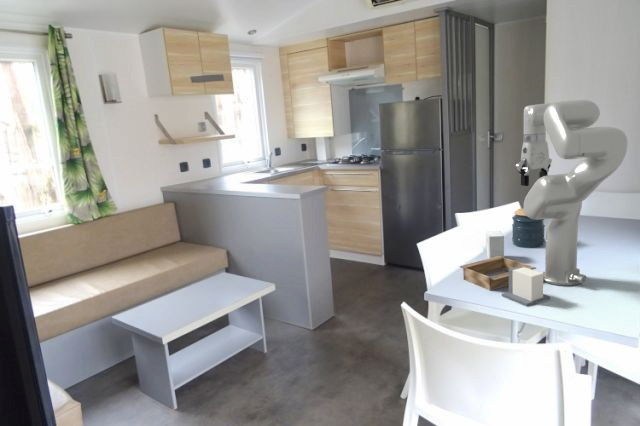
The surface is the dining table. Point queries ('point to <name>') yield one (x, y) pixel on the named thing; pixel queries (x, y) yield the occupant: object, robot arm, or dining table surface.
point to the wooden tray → (478, 269)
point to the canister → (527, 230)
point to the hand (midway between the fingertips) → (534, 183)
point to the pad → (523, 299)
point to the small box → (495, 244)
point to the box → (526, 283)
